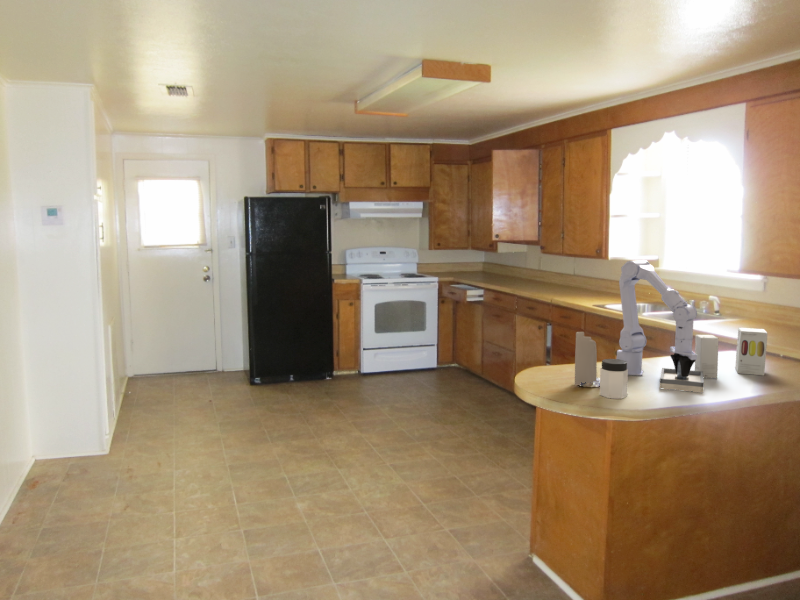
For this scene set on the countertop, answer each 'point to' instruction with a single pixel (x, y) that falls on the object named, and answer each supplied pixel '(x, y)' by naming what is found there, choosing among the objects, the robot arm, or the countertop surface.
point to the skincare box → (706, 355)
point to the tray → (682, 381)
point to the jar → (613, 378)
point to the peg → (679, 376)
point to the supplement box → (751, 351)
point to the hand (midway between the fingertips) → (681, 375)
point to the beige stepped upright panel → (585, 359)
